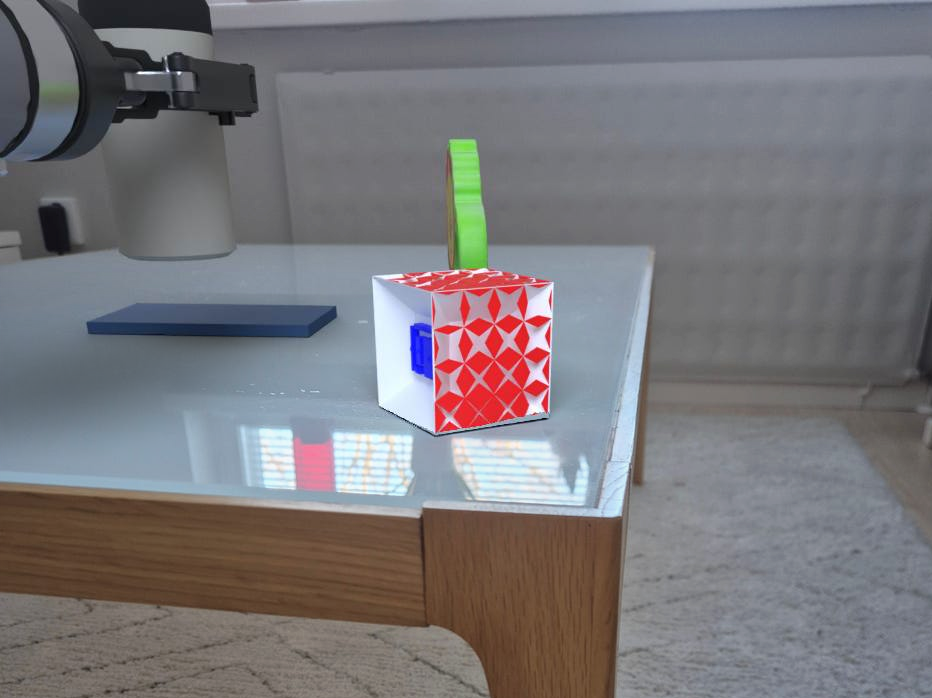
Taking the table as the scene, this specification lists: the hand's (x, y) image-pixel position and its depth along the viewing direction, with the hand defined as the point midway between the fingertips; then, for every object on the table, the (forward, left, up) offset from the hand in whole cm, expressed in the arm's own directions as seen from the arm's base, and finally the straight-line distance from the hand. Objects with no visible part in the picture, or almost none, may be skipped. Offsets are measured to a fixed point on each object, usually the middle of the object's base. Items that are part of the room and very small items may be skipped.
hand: (183, 95), depth 66 cm
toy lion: (+19, +7, -18) cm, 27 cm away
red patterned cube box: (+21, -15, -18) cm, 32 cm away
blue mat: (-5, +15, -18) cm, 24 cm away
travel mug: (0, -5, -10) cm, 11 cm away
